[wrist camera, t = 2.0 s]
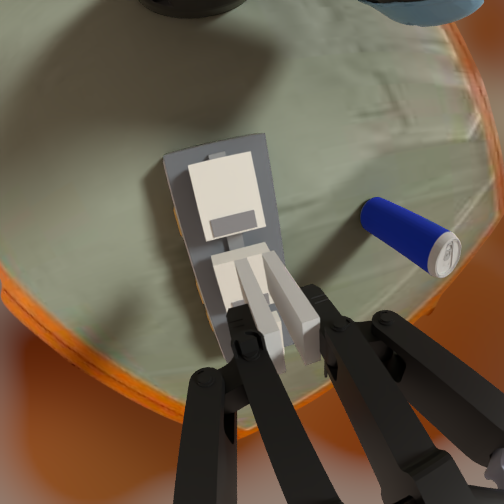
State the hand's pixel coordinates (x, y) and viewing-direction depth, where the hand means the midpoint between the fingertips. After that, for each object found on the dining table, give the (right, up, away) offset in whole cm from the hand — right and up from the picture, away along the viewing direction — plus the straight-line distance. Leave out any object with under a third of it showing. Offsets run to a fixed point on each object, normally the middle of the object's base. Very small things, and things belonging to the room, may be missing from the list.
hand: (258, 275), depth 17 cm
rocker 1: (-3, +7, +9) cm, 12 cm away
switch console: (-2, +1, +17) cm, 18 cm away
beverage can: (+17, +7, +20) cm, 27 cm away
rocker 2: (-1, -1, +13) cm, 13 cm away
